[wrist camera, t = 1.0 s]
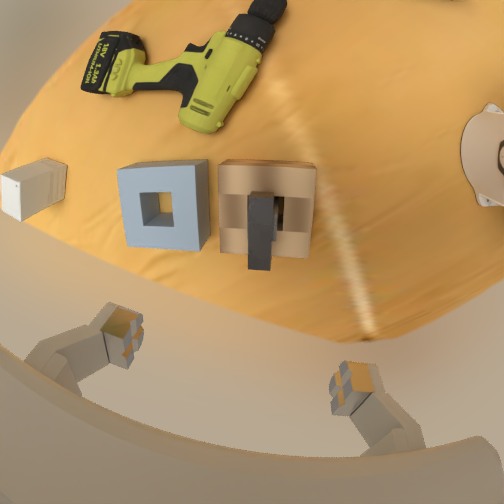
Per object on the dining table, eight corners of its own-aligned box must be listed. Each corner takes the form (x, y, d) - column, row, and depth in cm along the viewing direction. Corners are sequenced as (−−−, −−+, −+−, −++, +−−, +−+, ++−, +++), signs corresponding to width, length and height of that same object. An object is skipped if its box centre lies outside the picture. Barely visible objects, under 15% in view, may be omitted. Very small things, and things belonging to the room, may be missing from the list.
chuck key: (258, 173, 38) (244, 196, 26) (280, 174, 38) (277, 198, 26) (257, 225, 42) (244, 268, 30) (278, 226, 41) (273, 270, 29)
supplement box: (46, 156, 40) (0, 172, 29) (68, 164, 40) (20, 182, 29) (43, 190, 43) (0, 210, 32) (65, 199, 44) (20, 223, 32)
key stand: (312, 162, 36) (316, 169, 31) (305, 240, 42) (308, 258, 36) (227, 159, 38) (217, 165, 32) (228, 235, 43) (220, 252, 38)
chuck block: (207, 159, 38) (194, 165, 32) (210, 234, 43) (199, 251, 38) (137, 162, 39) (116, 169, 34) (144, 231, 44) (127, 246, 39)
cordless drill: (163, -30, 23) (304, 7, 25) (99, 89, 34) (224, 141, 37) (145, -45, 16) (306, -13, 19) (72, 90, 28) (210, 146, 31)
